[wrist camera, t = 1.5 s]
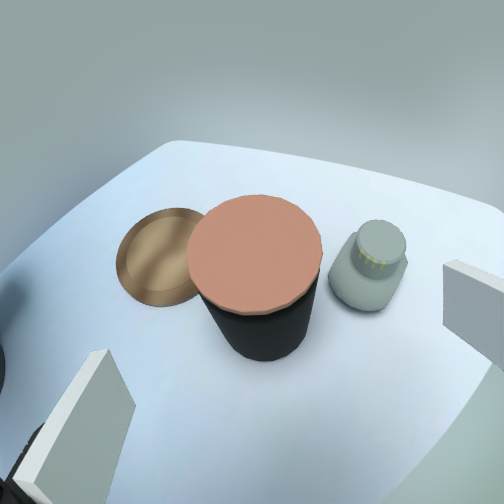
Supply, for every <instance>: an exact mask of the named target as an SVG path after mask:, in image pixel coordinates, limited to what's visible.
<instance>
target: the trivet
mask: <svg viewBox="0 0 504 504" xmlns="http://www.w3.org/2000/svg"><path fill="white" fill-rule="evenodd" d="M203 217H204V215H202V214H201V213H199V212H196V211H194V210H190V209H186V208H169V209H164V210H160V211H157V212H154V213H152V214H150V215H148V216H146V217H145V218H143V219H142V220H140V221H139V222H138V223H136V224H135V225H134V226H133V227H132V228H131V229H130V230H129V232H128V233H127V234H126V236H125V237H124V239H123V240H122V242H121V244H120V247H119V249H118V253H117V258H116V270H117V275H118V278H119V281H120V283H121V285H122V286H123V287H124V289H125V290H126V291H127V292H128V293H129V294H130V295H131V296H132V297H133V298H135V299H136V300H137V301H139V302H141V303H143V304H146V305H149V306H155V307H166V306H173V305H177V304H180V303H183V302H185V301H187V300H189V299H191V298H193V297H194V296H196V295H197V294H199V293H198V289H197V287H196V285H195V284H194V283H193V281H192V280H191V278H190V274H189V271H188V267H187V263H186V255H187V246H188V241H189V239H190V237H191V234H192V232H193V230H194V228H195V226H196V225H197V224H198V222H199V221H200V220H201V219H202V218H203Z"/></svg>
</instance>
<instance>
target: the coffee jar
mask: <svg viewBox="0 0 504 504" xmlns="http://www.w3.org/2000/svg"><path fill="white" fill-rule="evenodd" d="M322 255H323V252H322V244H321V237H320V234H319V232H318V230H317V228H316V226H315V225H314V223H313V221H312V219H311V218H310V217H309V216H308V215H307V214H306V213H305V212H304V211H302V210H301V209H300V208H299V207H298V206H296V205H294V204H292V203H290V202H288V201H286V200H284V199H282V198H278V197H272V196H267V195H248V196H241V197H238V198H234V199H231V200H228V201H225V202H223V203H222V204H220V205H218V206H217V207H215V208H214V209H212V210H210V211H209V212H208V213H207V214H206V215H205V216H204V217H203V218H202V219H201V220H200V221H199V222H198V224H197V225H196V226H195V228H194V230H193V232H192V234H191V237H190V239H189V241H188V246H187V255H186V263H187V267H188V271H189V274H190V278H191V280H192V281H193V283H194V284H195V285H196V287H197V289H198V293H199V294H200V296H201V298H202V300H203V301H204V303H205V305H206V306H207V308H208V310H209V312H210V313H211V315H212V317H213V318H214V320H215V322H216V323H217V325H218V327H219V328H220V330H221V332H222V333H223V335H224V336H225V338H226V340H227V341H228V342H229V344H230V345H231V346H232V348H233V349H234V350H235V351H237V352H238V353H240V354H241V355H243V356H244V357H246V358H250V359H253V360H257V361H273V360H276V359H279V358H281V357H284V356H287V355H288V354H289V353H291V352H292V351H293V350H295V349H296V348H297V347H298V346H299V344H300V343H301V341H302V340H303V338H304V337H305V334H306V331H307V327H308V323H309V319H310V314H311V310H312V305H313V301H314V296H315V291H316V286H317V281H318V277H319V272H320V263H321V259H322Z"/></svg>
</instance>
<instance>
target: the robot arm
mask: <svg viewBox="0 0 504 504" xmlns="http://www.w3.org/2000/svg"><path fill="white" fill-rule="evenodd" d="M443 325H444V326H445V327H446V328H448V329H449V330H450V331H452V332H453V333H455V334H456V335H457V336H459V337H460V338H461V339H463V340H464V341H465V342H467V343H468V344H469V345H471V346H472V347H473V348H474V349H476V350H477V351H478V352H480V353H481V354H482V355H484V356H485V357H486V358H488V359H489V360H490V361H491V362H493V363H494V364H495V365H497V366H498V367H499V368H500V369H502V370H503V371H504V279H502V278H499V277H497V276H495V275H492V274H490V273H488V272H485V271H483V270H481V269H478V268H476V267H474V266H471V265H469V264H466V263H464V262H462V261H459V260H457V259H456V260H454V261H451V262H448V263H445V264H443ZM4 372H5V363H4V354H3V350H2V346H1V344H0V392H1V389H2V385H3V380H4ZM135 407H136V405H135V403H134V401H133V399H132V397H131V395H130V393H129V391H128V389H127V387H126V385H125V383H124V381H123V379H122V377H121V375H120V372H119V370H118V368H117V366H116V364H115V362H114V359H113V357H112V355H111V353H110V350H109V349H104V350H98V351H92V352H91V354H90V355H89V357H88V358H87V359H86V361H85V362H84V364H83V365H82V367H81V368H80V370H79V371H78V373H77V374H76V376H75V377H74V379H73V380H72V382H71V383H70V385H69V386H68V388H67V389H66V391H65V392H64V394H63V395H62V397H61V398H60V400H59V402H58V403H57V405H56V406H55V408H54V409H53V411H52V413H51V414H50V416H49V417H48V419H47V420H46V422H44V423H43V424H42V425H41V426H40V427H39V428H38V429H37V430H36V431H35V432H34V433H33V435H32V436H31V438H30V439H29V441H28V445H27V444H26V446H25V448H24V449H23V453H21V454H20V456H19V458H18V459H17V461H16V463H15V464H14V466H13V468H12V470H11V471H10V473H9V475H8V477H7V478H6V480H5V482H4V481H3V480H2V479H1V478H0V504H105V503H106V500H107V496H108V493H109V489H110V486H111V483H112V479H113V476H114V473H115V469H116V466H117V463H118V460H119V456H120V453H121V450H122V447H123V444H124V441H125V437H126V434H127V431H128V428H129V425H130V422H131V419H132V416H133V413H134V410H135Z"/></svg>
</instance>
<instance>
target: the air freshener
mask: <svg viewBox="0 0 504 504" xmlns="http://www.w3.org/2000/svg"><path fill="white" fill-rule="evenodd" d="M405 251H406V241H405V238H404V235H403V234H402V232H400V230H399V229H398V228H397V227H396V226H394V225H393V224H392V223H390V222H387V221H384V220H371V221H368V222H366V223H364V224H363V225H362V226H361V227H360V228H359V230H358V232H354V233H352V235H351V236H350V237H349V238H348V240H347V241H346V243H345V244H344V246H343V248H342V249H341V251H340V253H339V254H338V256H337V258H336V260H335V261H334V263H333V265H332V267H331V269H330V271H329V274H328V279H329V282H330V285H331V287H332V289H333V290H334V292H335V293H336V295H337V296H338V297H339V298H340V299H341V300H342V301H344V302H345V303H346V304H348V305H350V306H351V307H354V308H356V309H359V310H364V311H377V310H382V309H384V308H385V307H386V306H387V304H388V302H389V301H390V299H391V297H392V295H393V294H394V292H395V290H396V288H397V286H398V284H399V282H400V280H401V278H402V276H403V274H404V271H405V269H406V267H407V264H408V262H407V259H406V256H405Z"/></svg>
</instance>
